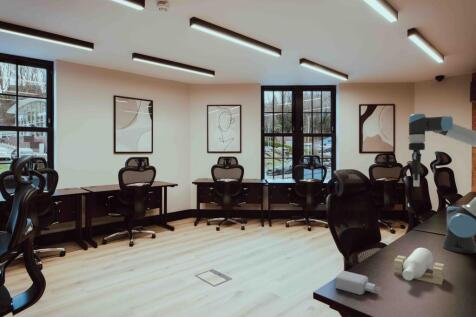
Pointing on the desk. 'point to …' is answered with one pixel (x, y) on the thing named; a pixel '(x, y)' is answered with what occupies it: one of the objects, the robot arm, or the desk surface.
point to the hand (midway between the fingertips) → (416, 186)
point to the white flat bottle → (354, 283)
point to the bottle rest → (428, 277)
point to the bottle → (417, 263)
